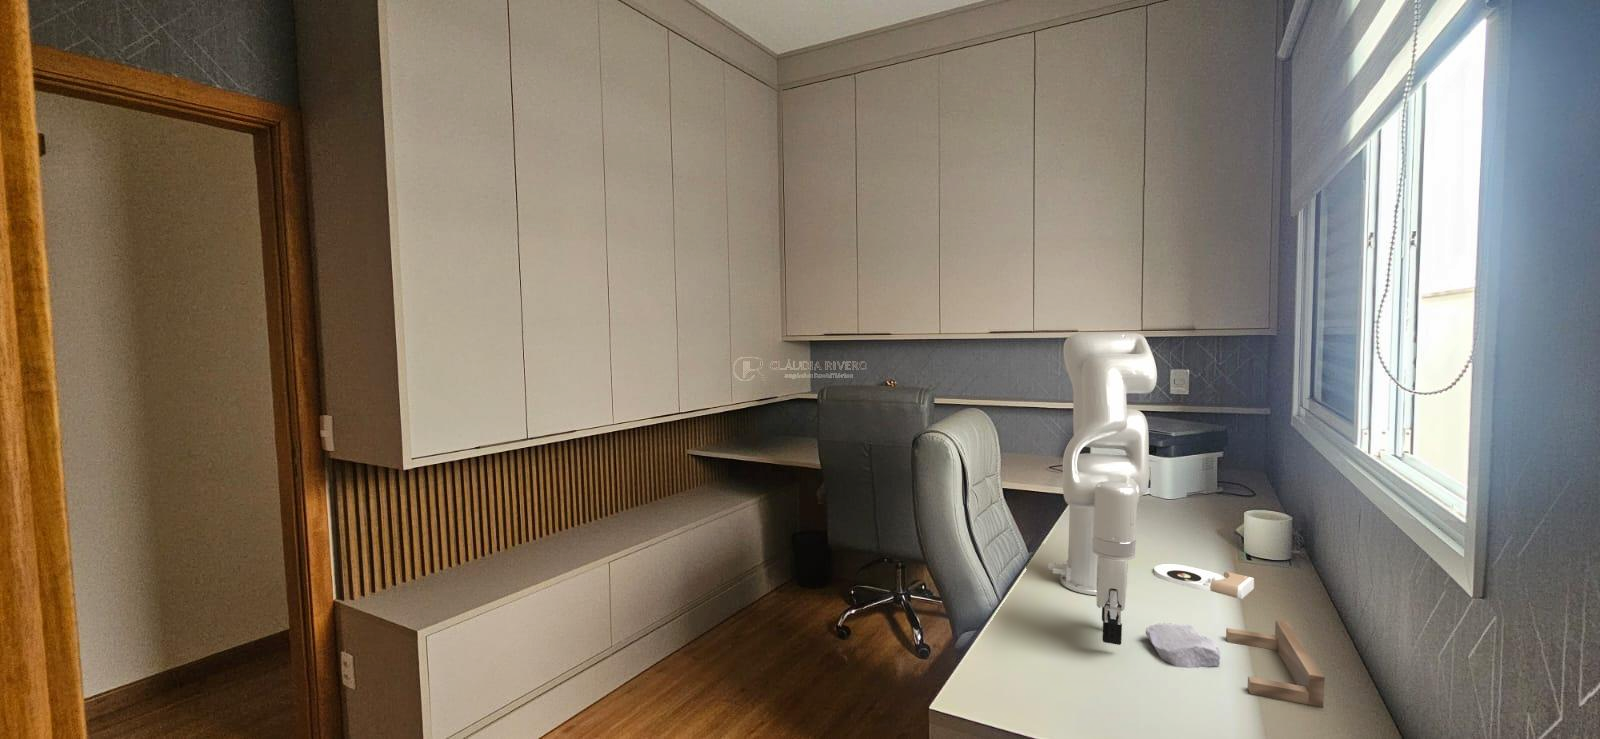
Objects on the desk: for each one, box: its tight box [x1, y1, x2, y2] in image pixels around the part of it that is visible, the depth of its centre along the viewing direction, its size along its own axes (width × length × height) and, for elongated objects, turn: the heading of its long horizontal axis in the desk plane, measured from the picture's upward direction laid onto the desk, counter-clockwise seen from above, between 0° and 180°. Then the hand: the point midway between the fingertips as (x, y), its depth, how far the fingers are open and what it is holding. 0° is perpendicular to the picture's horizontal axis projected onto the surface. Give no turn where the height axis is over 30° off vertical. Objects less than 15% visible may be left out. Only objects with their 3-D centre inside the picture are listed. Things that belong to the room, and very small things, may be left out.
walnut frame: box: [1225, 620, 1326, 708], centre depth 120 cm, size 10×22×5 cm, turn 156°
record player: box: [1153, 563, 1255, 600], centre depth 161 cm, size 12×3×20 cm
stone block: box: [1145, 622, 1221, 669], centre depth 126 cm, size 12×5×10 cm
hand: (1111, 632), depth 130 cm, fingers open, 9 cm apart
